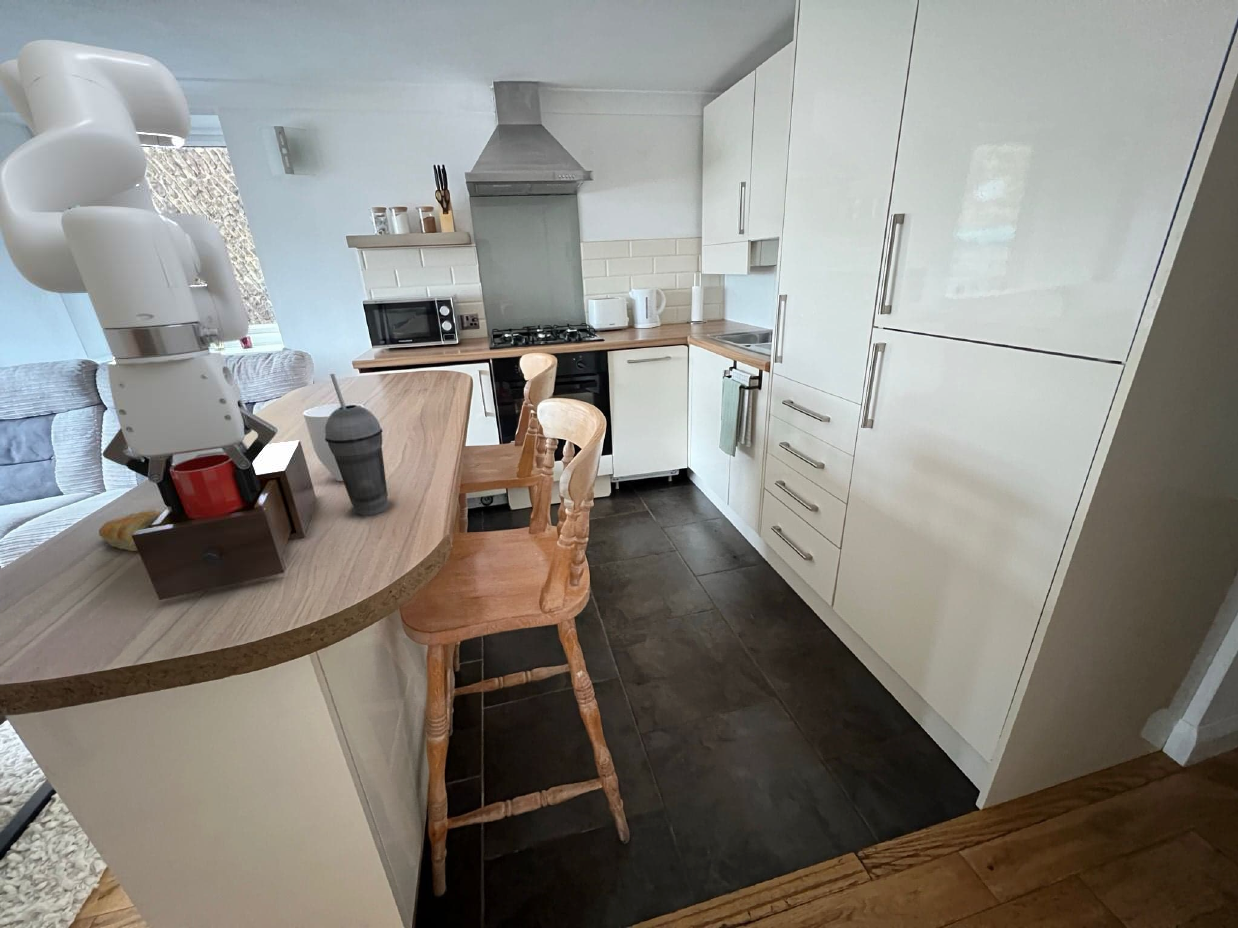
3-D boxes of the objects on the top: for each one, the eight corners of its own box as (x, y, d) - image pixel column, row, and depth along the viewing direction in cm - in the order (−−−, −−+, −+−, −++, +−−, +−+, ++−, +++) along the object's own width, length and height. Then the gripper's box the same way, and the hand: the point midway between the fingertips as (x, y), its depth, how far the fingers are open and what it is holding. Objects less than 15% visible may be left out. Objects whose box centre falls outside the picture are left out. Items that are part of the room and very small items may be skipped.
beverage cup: (377, 521, 71) (344, 379, 63) (332, 518, 72) (295, 379, 65) (408, 499, 77) (381, 368, 70) (366, 496, 79) (335, 368, 71)
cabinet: (304, 537, 67) (284, 470, 64) (188, 560, 63) (160, 489, 59) (316, 498, 79) (300, 440, 75) (219, 515, 74) (197, 454, 71)
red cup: (196, 502, 59) (179, 459, 57) (254, 493, 61) (240, 450, 59) (178, 523, 54) (160, 476, 52) (242, 512, 56) (226, 466, 54)
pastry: (85, 547, 66) (73, 522, 65) (140, 524, 73) (130, 500, 71) (140, 553, 64) (129, 527, 63) (192, 528, 71) (183, 504, 69)
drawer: (282, 578, 56) (262, 516, 54) (155, 606, 52) (125, 540, 49) (299, 526, 68) (283, 472, 65) (196, 546, 64) (175, 490, 61)
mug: (373, 482, 84) (356, 412, 80) (314, 489, 82) (295, 418, 78) (385, 459, 95) (372, 396, 90) (334, 464, 93) (318, 401, 88)
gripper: (266, 333, 58) (307, 478, 64) (68, 347, 51) (136, 507, 58) (251, 340, 51) (299, 501, 58) (23, 357, 45) (105, 535, 51)
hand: (217, 502), depth 58 cm, fingers closed on red cup, 5 cm apart
